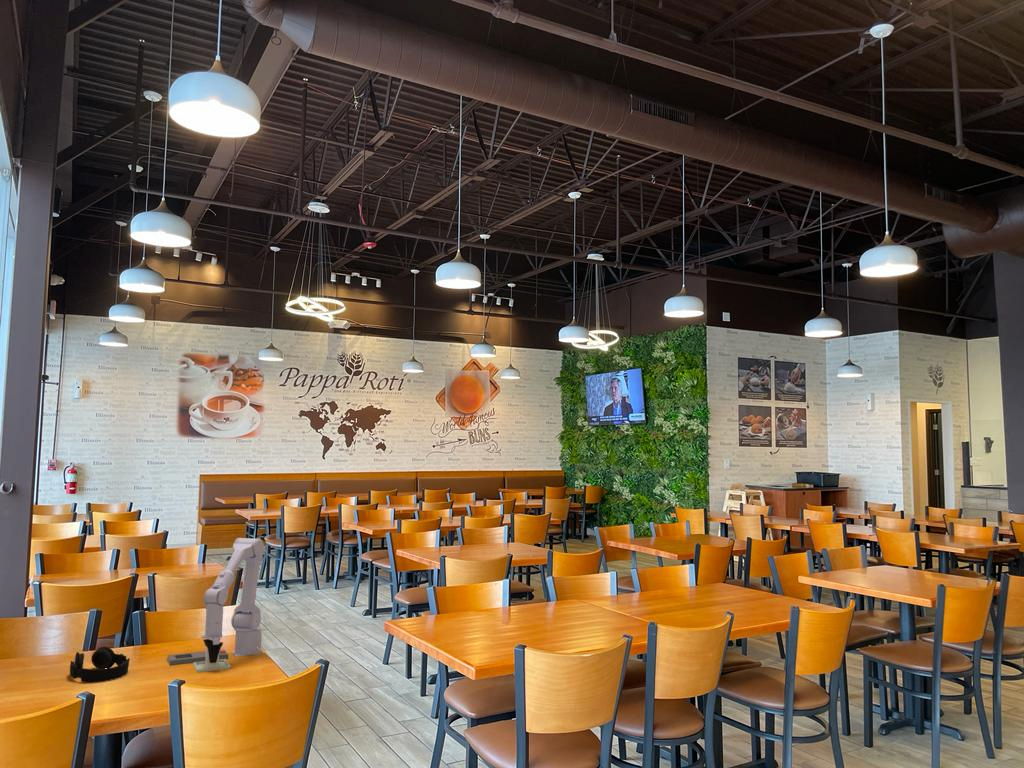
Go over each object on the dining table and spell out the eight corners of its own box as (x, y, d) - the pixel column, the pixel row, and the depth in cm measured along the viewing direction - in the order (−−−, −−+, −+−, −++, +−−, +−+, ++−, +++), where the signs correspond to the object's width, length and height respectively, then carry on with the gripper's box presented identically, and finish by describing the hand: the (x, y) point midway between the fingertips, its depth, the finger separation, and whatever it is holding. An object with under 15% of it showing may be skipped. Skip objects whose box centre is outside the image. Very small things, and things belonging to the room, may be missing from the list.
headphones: (109, 641, 270) (141, 656, 259) (106, 663, 270) (138, 678, 259) (58, 652, 255) (89, 668, 244) (55, 675, 255) (86, 692, 244)
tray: (225, 662, 274) (225, 658, 274) (230, 669, 265) (230, 666, 265) (193, 665, 269) (193, 662, 269) (197, 673, 259) (197, 669, 260)
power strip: (224, 654, 285) (225, 631, 286) (228, 659, 278) (229, 636, 279) (167, 660, 276) (168, 636, 276) (169, 666, 268) (171, 641, 269)
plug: (216, 664, 270) (218, 640, 271) (218, 667, 266) (219, 642, 267) (204, 665, 268) (206, 641, 269) (206, 668, 264) (207, 643, 265)
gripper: (199, 619, 273) (197, 657, 271) (205, 627, 260) (202, 667, 259) (219, 617, 276) (217, 655, 275) (226, 625, 264) (224, 664, 262)
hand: (211, 661), depth 267 cm, fingers open, 4 cm apart
